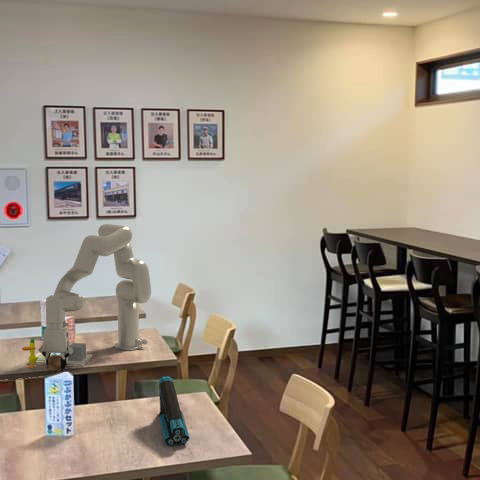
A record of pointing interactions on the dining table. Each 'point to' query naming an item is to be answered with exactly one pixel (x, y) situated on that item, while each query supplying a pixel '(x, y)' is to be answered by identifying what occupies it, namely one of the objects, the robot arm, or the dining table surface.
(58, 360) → the walnut cube
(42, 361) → the build plate
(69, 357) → the pedestal
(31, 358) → the toy figure
